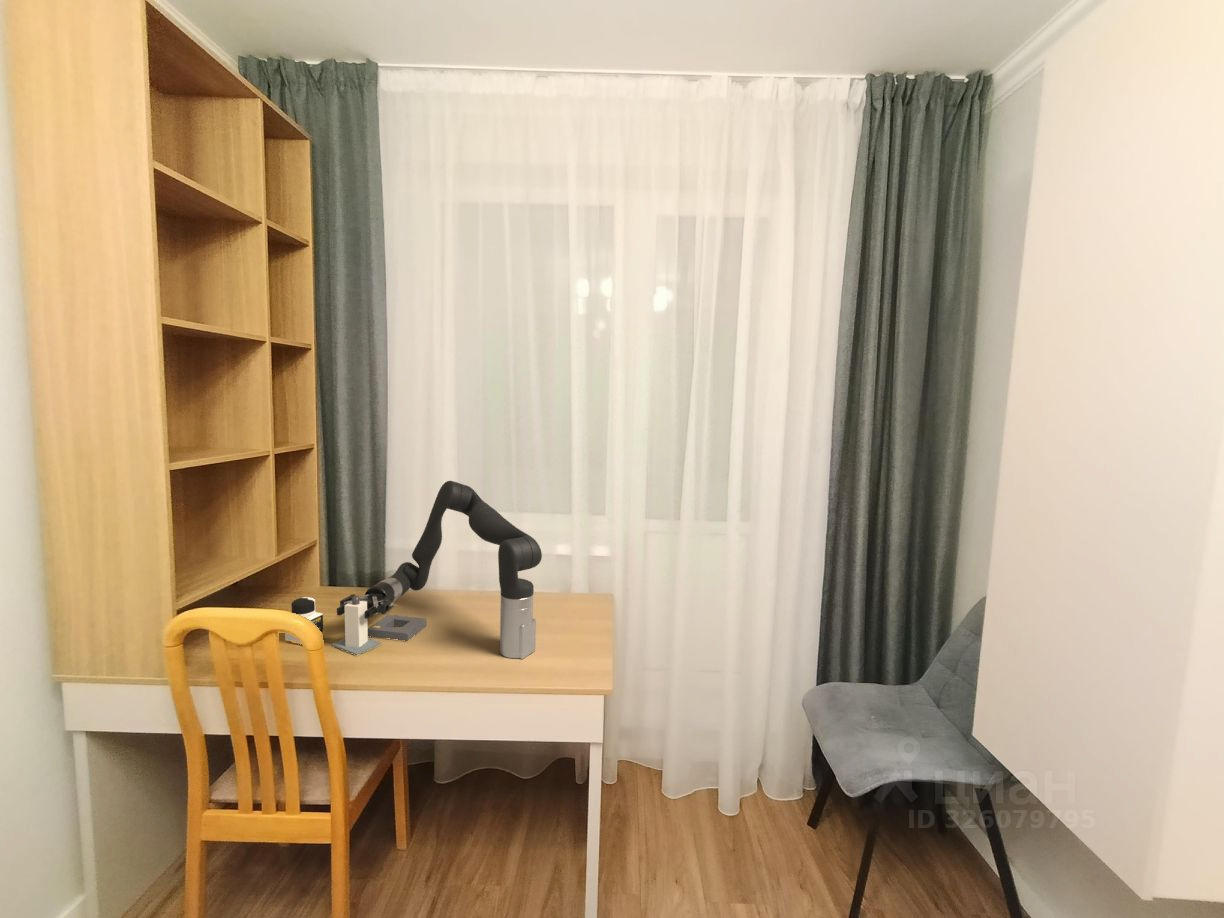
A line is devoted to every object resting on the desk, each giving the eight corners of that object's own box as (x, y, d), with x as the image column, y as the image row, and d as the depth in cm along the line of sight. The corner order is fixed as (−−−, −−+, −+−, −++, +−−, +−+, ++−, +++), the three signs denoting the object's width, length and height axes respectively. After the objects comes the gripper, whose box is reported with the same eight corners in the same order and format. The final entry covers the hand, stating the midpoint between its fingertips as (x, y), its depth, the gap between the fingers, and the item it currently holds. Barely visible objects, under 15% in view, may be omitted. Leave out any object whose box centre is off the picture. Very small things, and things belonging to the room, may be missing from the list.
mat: (381, 645, 160) (381, 643, 160) (356, 656, 153) (356, 654, 153) (356, 635, 166) (356, 633, 166) (331, 645, 159) (331, 643, 159)
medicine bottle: (303, 646, 158) (302, 605, 156) (284, 641, 160) (283, 601, 159) (324, 636, 165) (322, 597, 163) (305, 631, 167) (304, 593, 165)
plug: (367, 641, 161) (366, 594, 159) (359, 647, 157) (358, 600, 155) (354, 639, 162) (353, 593, 160) (345, 646, 158) (344, 598, 156)
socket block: (426, 626, 174) (426, 617, 173) (407, 641, 163) (407, 632, 163) (387, 621, 176) (387, 613, 175) (367, 636, 165) (367, 628, 165)
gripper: (363, 579, 173) (328, 598, 157) (405, 583, 171) (374, 603, 155) (363, 602, 174) (329, 624, 158) (405, 607, 172) (375, 629, 156)
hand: (351, 613), depth 156 cm, fingers open, 8 cm apart
